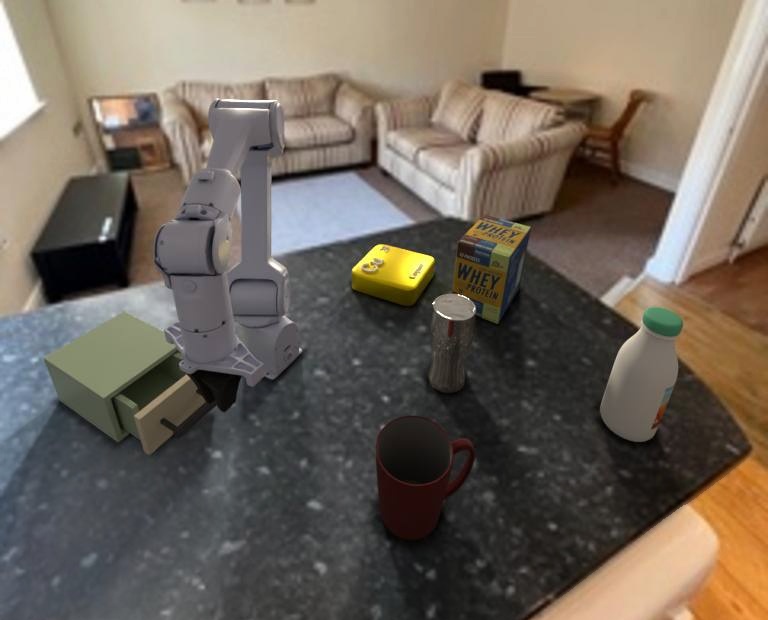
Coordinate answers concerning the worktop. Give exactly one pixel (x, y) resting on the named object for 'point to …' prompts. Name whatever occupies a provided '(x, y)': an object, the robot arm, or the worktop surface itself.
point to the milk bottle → (643, 377)
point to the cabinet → (106, 367)
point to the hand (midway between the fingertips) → (221, 401)
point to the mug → (416, 474)
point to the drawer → (160, 404)
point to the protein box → (491, 265)
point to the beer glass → (450, 340)
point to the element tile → (393, 274)
